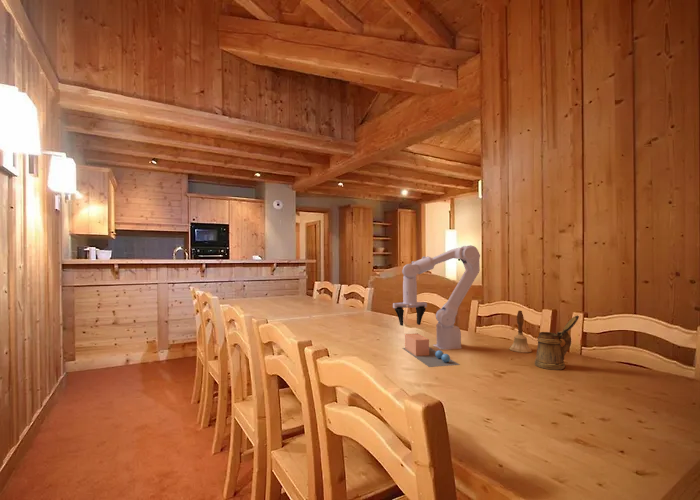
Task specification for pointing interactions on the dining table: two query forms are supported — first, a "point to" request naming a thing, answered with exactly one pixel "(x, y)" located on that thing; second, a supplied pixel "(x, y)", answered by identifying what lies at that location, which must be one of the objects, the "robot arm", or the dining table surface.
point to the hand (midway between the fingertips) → (410, 324)
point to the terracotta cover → (417, 344)
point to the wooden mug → (553, 347)
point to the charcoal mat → (433, 359)
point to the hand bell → (520, 337)
